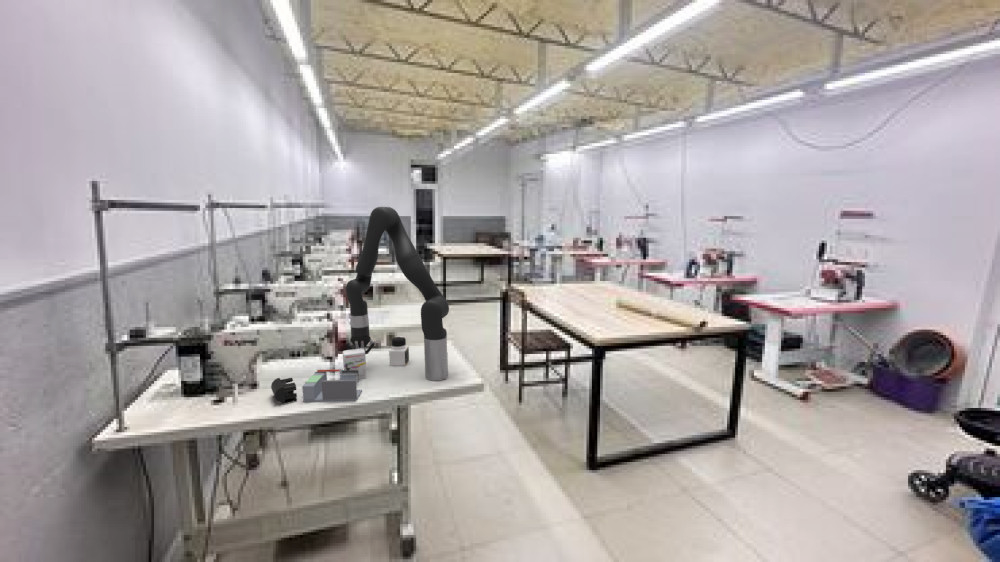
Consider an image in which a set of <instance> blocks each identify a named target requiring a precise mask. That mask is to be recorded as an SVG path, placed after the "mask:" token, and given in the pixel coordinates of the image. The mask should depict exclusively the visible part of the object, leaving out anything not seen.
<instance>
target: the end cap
mask: <svg viewBox="0 0 1000 562" xmlns="http://www.w3.org/2000/svg"><path fill="white" fill-rule="evenodd" d="M293 381H294V380H293V377H288V378H282V379H281V378H280V377H277V378H275V379H274V380H273V381H272V382H271V385H270V388H271V392H272V394H273V396H274V399H275V400H276V401H277V402H278V403H280V404H283V405H285V404H290V403H294V402H297V401H298V399H297V398H298V394H297V392H295V391H297V385H296V383H295V382H293Z"/></svg>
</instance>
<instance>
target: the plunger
mask: <svg viewBox="0 0 1000 562" xmlns="http://www.w3.org/2000/svg"><path fill="white" fill-rule="evenodd" d="M316 372H326V373H327V372H328V373H329V372H330V373H331V372H334V373H335V372H336V373H337V372H338V373H339V377H340V378H339V380H356V386H357V385H358V384H359V382H360V380H359V375H358V370H344V368H340V369H317V370H316Z"/></svg>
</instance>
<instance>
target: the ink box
mask: <svg viewBox="0 0 1000 562" xmlns="http://www.w3.org/2000/svg"><path fill="white" fill-rule="evenodd" d="M365 351H366V350H364V349H356V348H355V349H353V350H349V349H347V350H343V351H342V361H343V363H342V364H343V370H358V375H359V381H361V380H367V378H368V376H367V375H368V374H367V363H366V362H367V361H366V359H367V358H366V357H367V356H366V354H365Z"/></svg>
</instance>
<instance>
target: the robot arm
mask: <svg viewBox="0 0 1000 562" xmlns="http://www.w3.org/2000/svg"><path fill="white" fill-rule="evenodd" d="M368 218H369V220H368V225H367V230H366V233H365V238H364V243H363V246H362V250H361V253H360V255H359V258H358V260H357V263H356V265H355V272H356V276H355V278H353V279H351V280H349V281H348V282H347V283H346V285H345V293H346V297H347V300H348V303H349V311H350V313H349V315H350V320H349V325H350V338H349V341H346V342H345V346H346V347H347V348H348V349H347V350H353V349H364V350H365V355H368V354H369V353H370V352H371V350H372V349H373V348H374V347H375V345H376V343H377V342H376V341H375V340H374V341H373V340H372V338H371V336H370V317H369V312H368V310H369V309H368V308H369V307H368V302H367V301H366V300H364V298H363V294H365V293H367V292H368V290H369V288H370V287H371V284H372V275H373V272H374V270H375V267H376V265H377V262H378V258H379V246H380V241H381V239H382V237H383V235H384V233H385V232H386V233H387V235H388V236H389V238H390V240H391V242H392V245H393V248H394V257H395V260H396V264H397V265H398V267H399V268H400V270H401V273H402V274H403V275H404V277H405V278H406V279H407V280H408V281H409V283H411V284H412V285H413V286H414V287H415V288H416V289H418V290H419V291H420V292H421V294H422V296H423V298H424V300H425V301H424V303H423V304H422V305H421V308H420V321H421V330H422V333H423V342H424V343H423V345H424V346H423V347H424V348H423V349H424V350H423V351H424V376H425V379H426V380H428V381H432V382H433V381H443V380H447V379H448V375H449V365H448V364H449V359H448V358H449V357H448V356H449V355H448V340H447V339H448V338H447V337H448V333H447V329H446V328H444V326H443V319H444V318H446V316H447V315H448V314H449V312H450V306H449V303H448V301H447V299H446V298H445V297H444V295H443V293H442V292H441V291H440V289H439V287H438V286H437V285H436V283H435V281H434V280H433V278H432V276H431V274H430V273H429V271H428V269H427V268H426V265H425V263H424V261H423V259H422V258H421V255H419V252H418V251H417V249H416V248H415V246H414V244H413V242H412V240H411V238H410V237H409V235H408V234H407V231H406V229H405V226H404V224H403V222H402V220H401V217H400V215H399V213H398V212H397V211H396V209H394V208H393V207H389V206H377V207H375V208H373V209H372V211H371V212H370V215H369V217H368ZM368 345H369V347H368V348H367V346H368Z"/></svg>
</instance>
